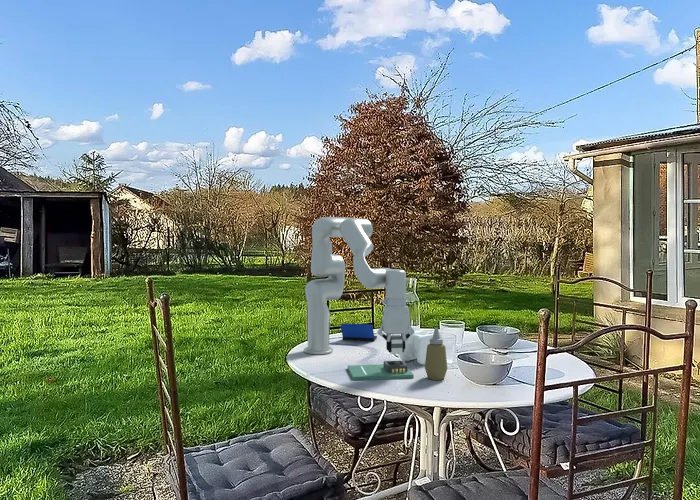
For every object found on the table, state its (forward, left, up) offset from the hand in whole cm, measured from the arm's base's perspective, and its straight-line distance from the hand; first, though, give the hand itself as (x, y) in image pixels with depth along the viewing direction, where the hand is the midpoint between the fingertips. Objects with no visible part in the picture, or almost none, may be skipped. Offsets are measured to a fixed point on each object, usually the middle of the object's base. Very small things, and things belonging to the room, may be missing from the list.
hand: (395, 351), depth 201 cm
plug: (0, 0, -1) cm, 1 cm away
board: (0, -6, -8) cm, 10 cm away
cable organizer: (-16, +14, -9) cm, 23 cm away
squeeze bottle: (+9, +13, -8) cm, 18 cm away
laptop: (-61, -5, -9) cm, 61 cm away
